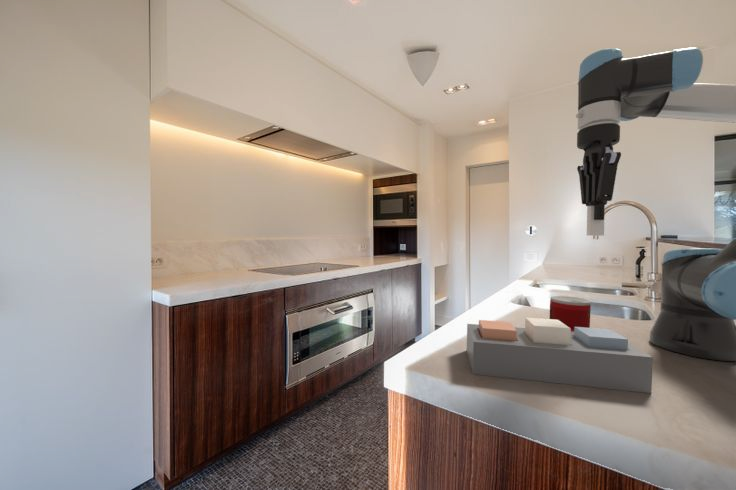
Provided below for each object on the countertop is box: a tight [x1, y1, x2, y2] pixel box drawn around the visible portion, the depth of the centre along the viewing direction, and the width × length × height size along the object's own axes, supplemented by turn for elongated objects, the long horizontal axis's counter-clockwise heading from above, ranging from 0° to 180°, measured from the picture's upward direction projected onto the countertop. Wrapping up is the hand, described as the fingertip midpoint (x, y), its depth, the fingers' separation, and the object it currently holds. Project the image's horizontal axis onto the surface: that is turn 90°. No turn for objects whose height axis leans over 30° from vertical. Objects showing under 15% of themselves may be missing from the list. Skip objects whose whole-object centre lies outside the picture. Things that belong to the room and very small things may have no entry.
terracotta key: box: [478, 319, 517, 341], centre depth 61 cm, size 6×6×5 cm
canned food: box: [549, 295, 591, 332], centre depth 73 cm, size 8×8×11 cm
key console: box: [466, 323, 654, 394], centre depth 59 cm, size 28×12×6 cm, turn 77°
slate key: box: [574, 327, 629, 350], centre depth 57 cm, size 6×6×5 cm
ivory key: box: [524, 317, 571, 345], centre depth 59 cm, size 6×6×5 cm
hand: (595, 235), depth 68 cm, fingers closed
